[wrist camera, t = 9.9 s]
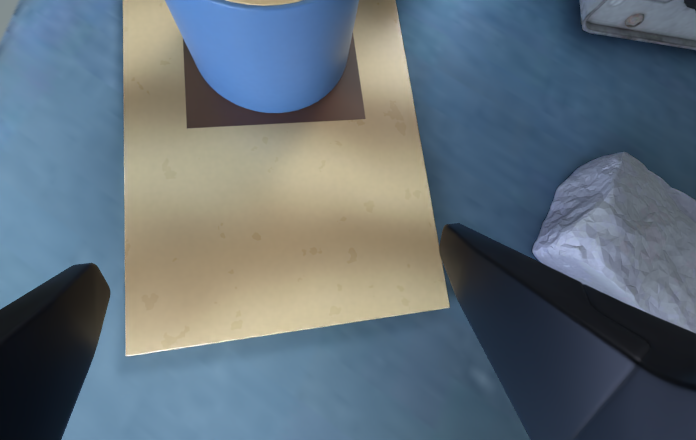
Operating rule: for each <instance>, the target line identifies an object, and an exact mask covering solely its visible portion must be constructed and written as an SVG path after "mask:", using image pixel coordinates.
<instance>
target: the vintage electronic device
mask: <svg viewBox="0 0 696 440" xmlns="http://www.w3.org/2000/svg"><path fill="white" fill-rule="evenodd" d="M579 2H580V11H581V25H582V30H584V31H586V32H588V33H591V34H599V35H605V36H611V37H617V38H624V39H630V40H636V41H642V42H648V43H655V44H661V45H667V46H673V47H679V48H685V49H692V50H696V0H579Z"/></svg>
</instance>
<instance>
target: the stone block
mask: <svg viewBox="0 0 696 440" xmlns="http://www.w3.org/2000/svg"><path fill="white" fill-rule="evenodd" d="M532 252H533V254H534V256H535V257H536V258H537V259H538V260H539V261H540V262H541V263H543V264H544V265H547V266H549V267H551V268H553V269H555V270H557V271H559V272H561V273H563V274H565V275H567V276H569V277H571V278H573V279H575V280H578V281H580V282H581V283H582V285H583V284H586V285H588V286H590V287H592V288H594V289H596V290H598V291H600V292H602V293H605V294H607V295H609V296H611V297H613V298H615V299H617V300H619V301H622V302H624V303H626V304H628V305H631V306H633V307H635V308H637V309H640V310H642V311H644V312H647V313H649V314H651V315H654V316H656V317H658V318H661V319H663V320H665V321H668V322H670V323H672V324H675V325H677V326H679V327H682V328H684V329H687V330H689V331H691V332H694V333H696V200H694V199H693V198H691V197H690V196H688V195H687V194H685V193H683V192H681V191H679V190H677V189H674V188H671V187H670V186H669V185H668V184H667V183H666V182H665V181H664V180H663V179H662V178H661V177H659V176H657V175H656V174H655V173H653V172H651V171H649V170H648V169H647V168H646V167H645V165H644V164H642V163H641V162H640V161H639V160H637V159H636V158H634V157H633V156H631V155H629V154H628V153H626V152H621V153H615V154H612V155H606V156H603V157H600V158H597V159H595V160H592V161H590V162H588V163H586V164H584V165H583V166H580V167H579V168H578V169H576V170H575V171H574V172H573V174H572V175H571V176H570V177H569V178H568V179H567V180H566V181H564V182H563V183H562V184H561V185H560V186H559V187H558V188H557V190H556V193H555V196H554V200H553V202H552V204H551V207H550V210H549V213H548V215H547V217H546V219H545V220H544V221H543V224H542V228H541V231H540V233H539V236H538V238H537V240H536V241H535V243H534V246H533V248H532Z"/></svg>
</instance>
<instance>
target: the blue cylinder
mask: <svg viewBox="0 0 696 440" xmlns="http://www.w3.org/2000/svg"><path fill="white" fill-rule="evenodd" d="M165 2H166V4H167V6H168V8H169V10H170V12H171V14H172V16H173V18H174V20H175V22H176V25H177V27H178V29H179V31H180V33H181V35H182V37H183V39H184V41H185V43H186V45H187V47H188V49H189V51H190V53H191V55H192V58H193V60H194V62H195V64H196V66H197V68H198V70H199V72H200V73H201V75H202V76H203V78H204V79H205V81H206V82H207V83H208V84H209V85H210V86H211V87H212V88H213V89H214V90H215V91H216V92H217V93H218V94H220V95H221V96H222V97H224V98H225V99H227V100H229V101H230V102H232V103H234V104H236V105H238V106H241V107H244V108H246V109H250V110H254V111H258V112H265V113H285V112H291V111H296V110H300V109H303V108H305V107H308V106H310V105H312V104H314V103H316V102H318V101H319V100H321V99H322V98H323V97H325V96H326V95H327V94H328V93H329V92H330V91H331V90H332V89H333V88H334V87H335V86H336V84H337V83H338V81H339V80H340V78H341V76H342V74H343V72H344V70H345V67H346V63H347V59H348V54H349V49H350V44H351V38H352V33H353V28H354V23H355V18H356V13H357V8H358V3H359V0H165Z"/></svg>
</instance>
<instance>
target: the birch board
mask: <svg viewBox="0 0 696 440" xmlns="http://www.w3.org/2000/svg"><path fill="white" fill-rule="evenodd" d="M123 83H124V209H125V335H126V356H134V355H141V354H147V353H154V352H160V351H167V350H174V349H180V348H187V347H193V346H200V345H207V344H213V343H220V342H226V341H233V340H240V339H246V338H253V337H260V336H266V335H273V334H279V333H286V332H293V331H299V330H306V329H312V328H319V327H326V326H332V325H339V324H345V323H352V322H359V321H365V320H372V319H379V318H385V317H392V316H398V315H405V314H412V313H418V312H425V311H431V310H438V309H445V308H449V307H450V304H449V299H448V293H447V288H446V282H445V276H444V271H443V265H442V259H441V257H440V253H439V242H438V237H437V231H436V225H435V220H434V214H433V208H432V203H431V197H430V191H429V186H428V180H427V174H426V169H425V163H424V158H423V152H422V146H421V141H420V135H419V129H418V124H417V118H416V112H415V107H414V101H413V95H412V90H411V84H410V78H409V73H408V67H407V61H406V56H405V50H404V44H403V39H402V33H401V27H400V22H399V16H398V11H397V5H396V0H359V3H358V8H357V13H356V18H355V23H354V28H353V33H352V38H351V44H350V49H349V54H348V59H347V63H346V67H345V70H344V72H343V74H342V76H341V78H340V80H339V81H338V83H337V84H336V86H335V87H334V88H333V89H332V90H331V91H330V92H329V93H328V94H327V95H326V96H325V97H323V98H322V99H321V100H319V101H318V102H316V103H314V104H312V105H310V106H308V107H305V108H303V109H300V110H296V111H291V112H285V113H265V112H258V111H254V110H250V109H246V108H244V107H241V106H238V105H236V104H234V103H232V102H230V101H229V100H227V99H225V98H224V97H222V96H221V95H220V94H218V93H217V92H216V91H215V90H214V89H213V88H212V87H211V86H210V85H209V84H208V83H207V82H206V81H205V79H204V78H203V76H202V75H201V73H200V72H199V70H198V68H197V66H196V64H195V62H194V60H193V58H192V55H191V53H190V51H189V49H188V47H187V45H186V43H185V41H184V39H183V37H182V35H181V33H180V31H179V29H178V27H177V25H176V22H175V20H174V18H173V16H172V14H171V12H170V10H169V8H168V6H167V4H166V2H165V0H123Z"/></svg>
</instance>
